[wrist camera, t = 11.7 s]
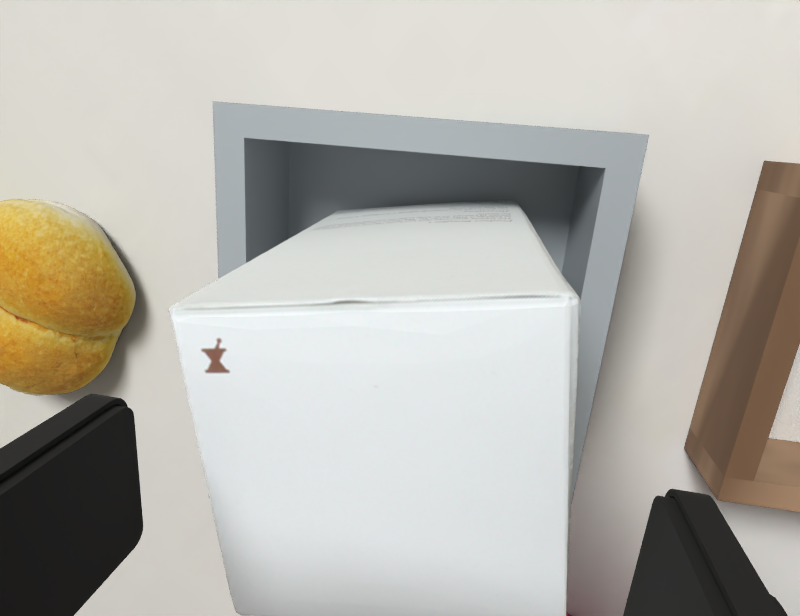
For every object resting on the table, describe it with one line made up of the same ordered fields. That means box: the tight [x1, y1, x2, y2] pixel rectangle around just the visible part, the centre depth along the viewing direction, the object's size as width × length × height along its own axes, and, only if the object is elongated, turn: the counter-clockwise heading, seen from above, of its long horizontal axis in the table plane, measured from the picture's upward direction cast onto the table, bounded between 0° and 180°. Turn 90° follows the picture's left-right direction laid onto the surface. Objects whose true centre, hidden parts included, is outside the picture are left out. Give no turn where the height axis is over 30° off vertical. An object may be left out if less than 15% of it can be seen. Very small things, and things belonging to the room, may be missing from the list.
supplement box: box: [169, 200, 581, 616], centre depth 16 cm, size 7×7×13 cm
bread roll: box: [0, 199, 136, 396], centre depth 24 cm, size 8×9×4 cm
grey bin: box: [213, 101, 649, 504], centre depth 20 cm, size 13×13×5 cm
